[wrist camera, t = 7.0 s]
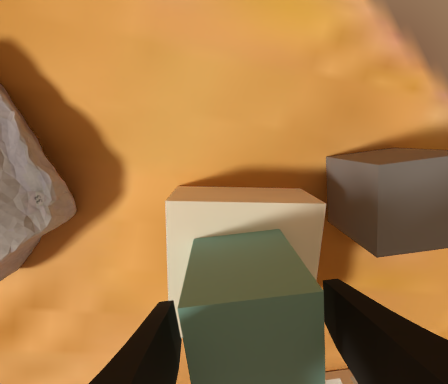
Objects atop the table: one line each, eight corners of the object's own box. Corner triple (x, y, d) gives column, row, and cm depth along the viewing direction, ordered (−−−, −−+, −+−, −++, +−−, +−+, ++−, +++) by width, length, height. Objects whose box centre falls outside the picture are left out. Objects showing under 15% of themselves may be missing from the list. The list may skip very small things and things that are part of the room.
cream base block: (288, 292, 17) (309, 337, 13) (180, 292, 17) (169, 337, 13) (298, 187, 16) (326, 203, 12) (178, 184, 15) (165, 200, 11)
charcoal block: (391, 212, 16) (468, 245, 11) (327, 221, 16) (376, 257, 11) (393, 147, 15) (479, 151, 10) (325, 156, 15) (378, 165, 10)
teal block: (284, 303, 13) (325, 403, 8) (204, 312, 13) (197, 419, 8) (279, 228, 12) (323, 291, 7) (193, 238, 12) (177, 308, 7)
